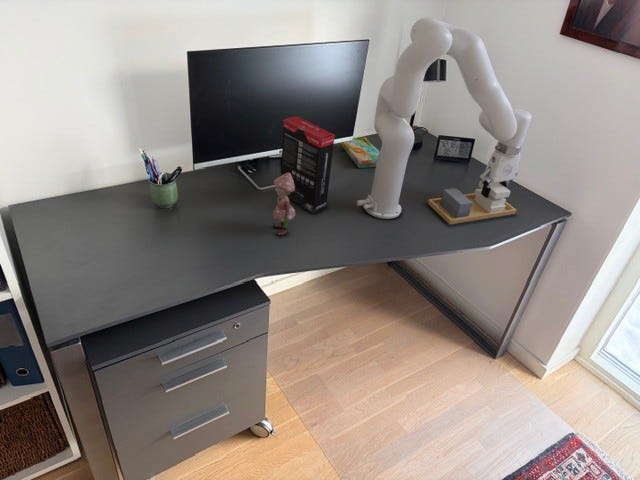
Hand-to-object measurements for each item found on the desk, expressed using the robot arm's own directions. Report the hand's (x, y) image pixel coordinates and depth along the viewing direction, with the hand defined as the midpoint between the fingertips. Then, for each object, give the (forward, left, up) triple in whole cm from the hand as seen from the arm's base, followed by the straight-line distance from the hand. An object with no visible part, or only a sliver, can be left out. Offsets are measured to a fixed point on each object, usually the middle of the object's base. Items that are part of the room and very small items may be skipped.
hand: (492, 194), depth 173 cm
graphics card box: (-63, +19, -6) cm, 66 cm away
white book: (0, 0, -5) cm, 5 cm away
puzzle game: (-28, +46, -6) cm, 54 cm away
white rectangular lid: (0, 0, +1) cm, 1 cm away
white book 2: (0, +1, -2) cm, 2 cm away
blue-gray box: (-15, 0, -5) cm, 16 cm away
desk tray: (-7, 0, -5) cm, 9 cm away
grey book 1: (-15, 0, -2) cm, 15 cm away
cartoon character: (-75, +4, -6) cm, 76 cm away
